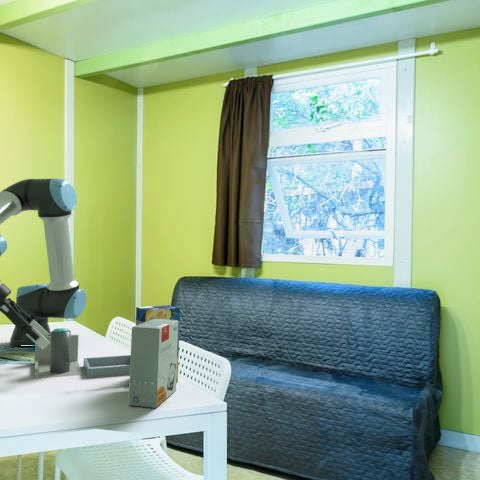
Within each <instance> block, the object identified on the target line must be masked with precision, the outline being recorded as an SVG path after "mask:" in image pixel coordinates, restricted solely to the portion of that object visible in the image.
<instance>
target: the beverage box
mask: <svg viewBox="0 0 480 480" xmlns="http://www.w3.org/2000/svg"><path fill="white" fill-rule="evenodd" d="M135 307H136V309H135V311H136V312H135V326H136V325H139V324H142V323H145V322H147V321H150V320H153V319H165V320H178V321H179V322H178V346H177V374H176V383H178V382H179V359H180V358H179V357H180V356H179V355H180V352H179V351H180V319H181V318H180V317H181V313H180V312H181V311H180V310H181V308H180V307H178V306H173V305H171V304H168V305H167V304H166V305H152V306H151V305H150V306H135Z"/></svg>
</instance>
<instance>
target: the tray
mask: <svg viewBox="0 0 480 480" xmlns="http://www.w3.org/2000/svg"><path fill="white" fill-rule="evenodd" d="M130 359H131V354H127V355H125V354H123V355H111V356H97V357H84V358H83V368H84V371H85V373H86V376H87V378H88V379H91V378H93V379H94V378H104V377H114V376H126V375H130ZM114 365H115V366H114ZM99 366H100V367H99Z"/></svg>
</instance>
